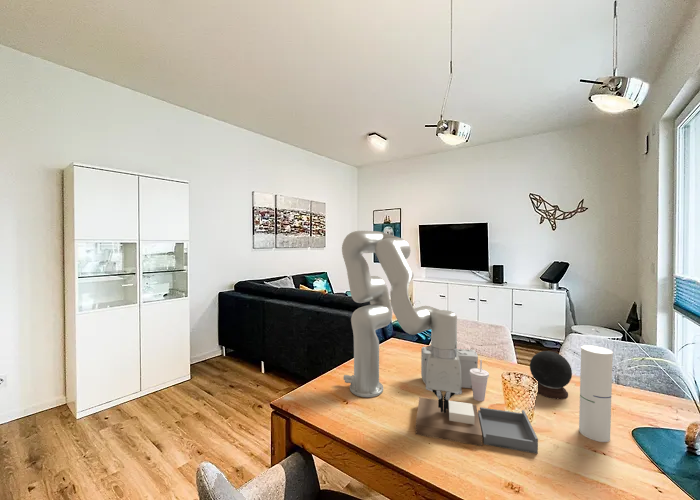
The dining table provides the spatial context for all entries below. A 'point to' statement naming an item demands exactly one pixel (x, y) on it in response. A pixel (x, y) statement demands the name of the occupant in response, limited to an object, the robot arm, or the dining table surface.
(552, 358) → the round black desktop speaker
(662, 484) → the dining table surface
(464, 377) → the stereo radio cassette player
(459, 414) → the tile
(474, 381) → the smoothie
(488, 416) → the tray
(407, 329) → the robot arm
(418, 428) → the board
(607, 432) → the cylindrical container
